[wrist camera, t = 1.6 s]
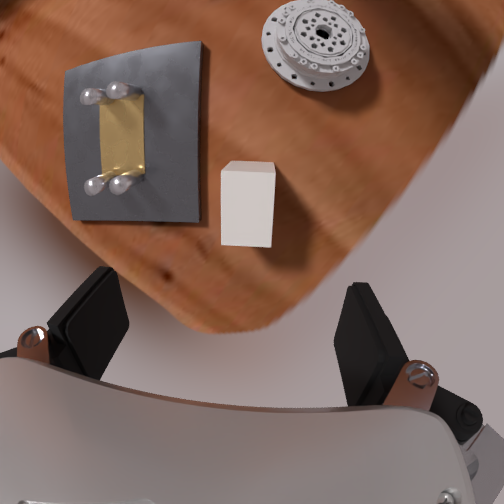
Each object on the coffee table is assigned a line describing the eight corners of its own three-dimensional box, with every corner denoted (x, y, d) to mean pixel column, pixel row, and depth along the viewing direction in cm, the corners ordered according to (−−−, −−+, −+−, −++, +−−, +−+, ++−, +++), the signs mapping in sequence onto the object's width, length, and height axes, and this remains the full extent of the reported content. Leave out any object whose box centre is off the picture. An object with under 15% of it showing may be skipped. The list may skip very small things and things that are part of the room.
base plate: (70, 71, 20) (42, 69, 16) (203, 43, 20) (189, 27, 15) (77, 217, 28) (53, 233, 24) (201, 219, 28) (188, 238, 23)
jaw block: (231, 160, 25) (221, 170, 20) (273, 162, 25) (275, 173, 19) (230, 219, 28) (221, 244, 22) (270, 221, 27) (270, 247, 22)
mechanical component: (380, 40, 18) (293, -10, 17) (398, 29, 14) (297, -30, 13) (335, 111, 22) (242, 59, 21) (348, 109, 18) (237, 47, 17)
